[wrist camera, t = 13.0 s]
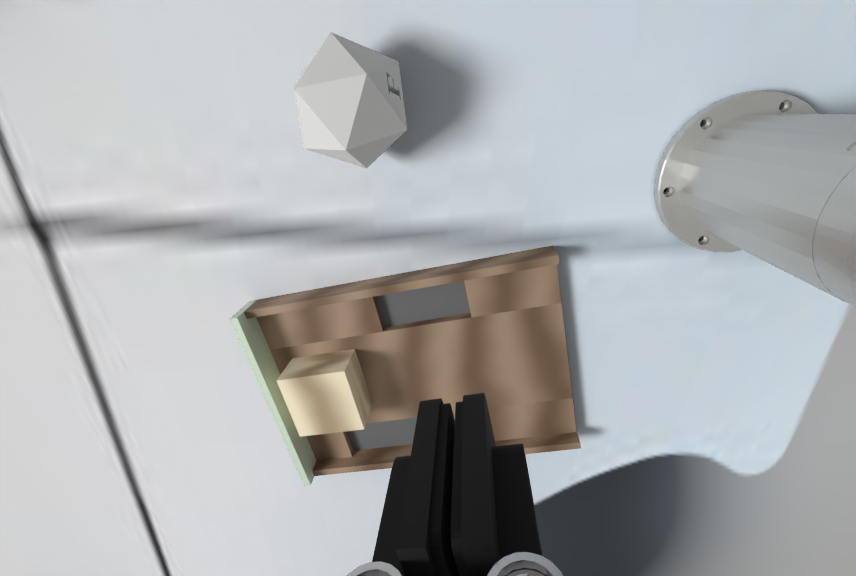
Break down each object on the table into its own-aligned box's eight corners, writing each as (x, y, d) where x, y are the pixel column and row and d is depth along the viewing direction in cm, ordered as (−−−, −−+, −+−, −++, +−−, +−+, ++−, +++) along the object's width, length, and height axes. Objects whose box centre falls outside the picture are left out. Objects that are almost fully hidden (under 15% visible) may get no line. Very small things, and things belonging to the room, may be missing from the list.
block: (354, 349, 43) (344, 371, 39) (372, 403, 46) (364, 429, 42) (292, 358, 44) (276, 380, 40) (312, 411, 47) (299, 436, 43)
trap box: (552, 245, 38) (558, 255, 36) (574, 430, 46) (580, 448, 44) (256, 300, 43) (243, 311, 41) (321, 458, 51) (314, 475, 49)
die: (391, 176, 38) (434, 138, 29) (291, 178, 34) (307, 135, 25) (379, 85, 38) (419, 19, 29) (278, 78, 34) (289, 0, 25)
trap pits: (462, 270, 40) (462, 271, 40) (496, 433, 47) (496, 434, 47) (299, 299, 43) (298, 300, 42) (354, 449, 50) (354, 450, 50)
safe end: (256, 300, 43) (236, 317, 39) (321, 458, 51) (310, 485, 47) (249, 301, 43) (229, 319, 40) (315, 458, 51) (304, 485, 47)
